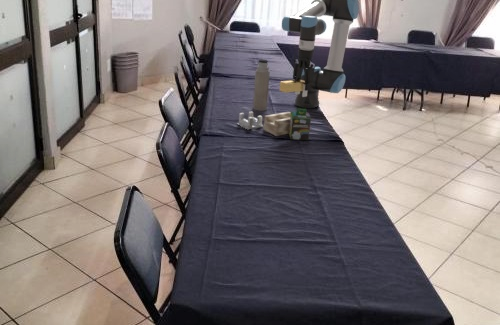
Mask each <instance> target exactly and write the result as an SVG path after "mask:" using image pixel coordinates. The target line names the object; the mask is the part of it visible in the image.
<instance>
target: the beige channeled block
mask: <svg viewBox="0 0 500 325" xmlns="http://www.w3.org/2000/svg"><path fill="white" fill-rule="evenodd" d="M290 116H291V111H285V112H280V113H278V112H277V113H273V114H268V115H264V120H263V131H265V132H267V133H270V134H272V136H273V135H274V136H275V137H278V136H282V135H289V128H290Z"/></svg>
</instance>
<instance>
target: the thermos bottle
mask: <svg viewBox="0 0 500 325" xmlns="http://www.w3.org/2000/svg"><path fill="white" fill-rule="evenodd" d="M258 62H259V63H258V65H257V66H256V69H255V76H254V88H253V89H254V91H253V92H254V93H253V102H252V104H253V106H252V109H253V110H255V111H261V112H262V111H266V110H267V108H268V96H269V87H270V86H269V85H270V74H271V70H270V66H268V63H269V61H268V60H267V59H259V60H258Z"/></svg>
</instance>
